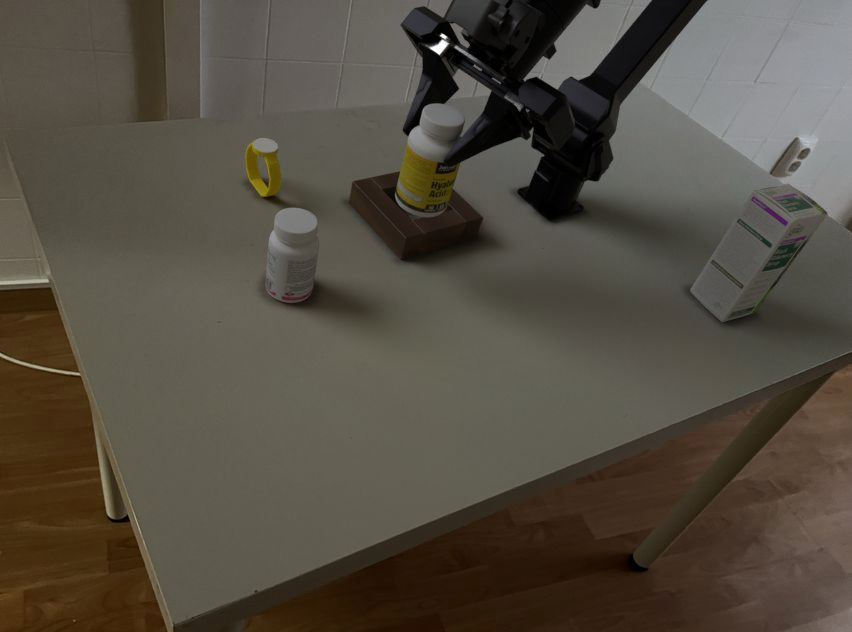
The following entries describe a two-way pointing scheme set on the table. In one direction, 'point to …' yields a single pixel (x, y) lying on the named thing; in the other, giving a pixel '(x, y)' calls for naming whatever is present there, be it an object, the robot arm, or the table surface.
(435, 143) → the supplement bottle
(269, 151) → the watch
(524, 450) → the table surface
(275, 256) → the pill bottle
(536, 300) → the table surface
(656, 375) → the table surface
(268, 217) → the table surface
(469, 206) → the socket block
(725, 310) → the syrup box
